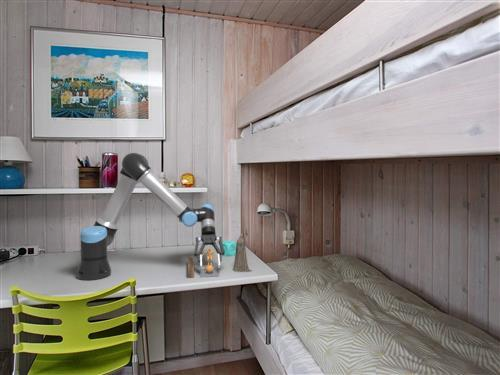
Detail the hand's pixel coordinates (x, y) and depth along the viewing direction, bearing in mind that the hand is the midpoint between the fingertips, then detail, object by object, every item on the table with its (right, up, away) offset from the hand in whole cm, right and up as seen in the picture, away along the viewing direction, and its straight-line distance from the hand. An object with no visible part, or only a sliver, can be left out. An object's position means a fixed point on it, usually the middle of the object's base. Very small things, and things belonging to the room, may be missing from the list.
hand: (210, 266), depth 162 cm
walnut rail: (-11, -4, +9) cm, 15 cm away
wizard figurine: (+16, -4, +10) cm, 19 cm away
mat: (-1, -4, +3) cm, 5 cm away
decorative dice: (+6, -3, +41) cm, 42 cm away
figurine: (-1, -4, +3) cm, 5 cm away
